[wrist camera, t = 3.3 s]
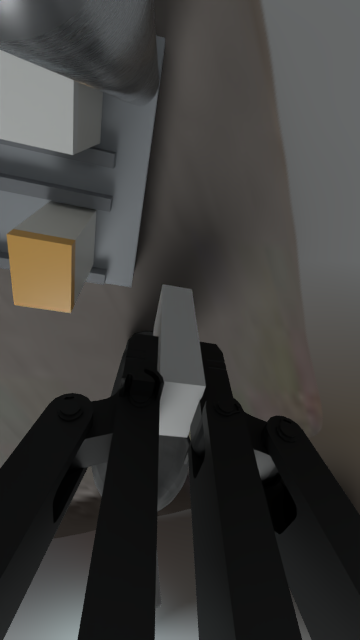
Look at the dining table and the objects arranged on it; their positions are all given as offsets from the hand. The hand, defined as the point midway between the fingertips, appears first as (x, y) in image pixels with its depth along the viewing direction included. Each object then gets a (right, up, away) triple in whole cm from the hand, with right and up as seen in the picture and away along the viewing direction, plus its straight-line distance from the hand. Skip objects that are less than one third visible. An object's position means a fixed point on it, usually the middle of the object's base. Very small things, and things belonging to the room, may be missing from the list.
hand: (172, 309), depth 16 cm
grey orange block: (-7, +5, +6) cm, 11 cm away
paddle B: (-6, +12, +1) cm, 13 cm away
